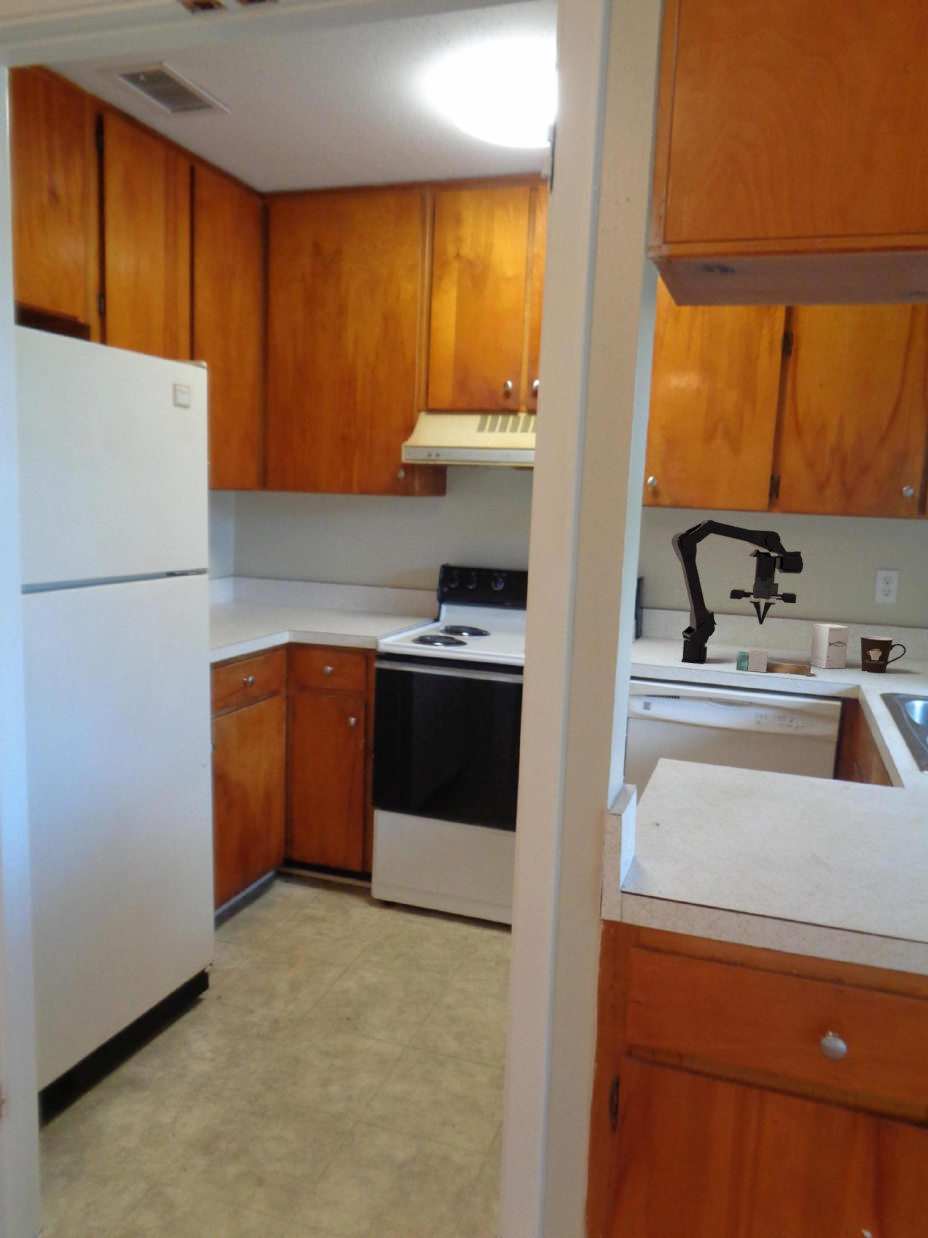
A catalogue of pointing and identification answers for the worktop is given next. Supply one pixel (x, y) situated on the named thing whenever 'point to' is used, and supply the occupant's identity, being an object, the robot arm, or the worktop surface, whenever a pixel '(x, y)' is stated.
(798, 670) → the track
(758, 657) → the block
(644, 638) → the worktop surface
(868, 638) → the coffee mug
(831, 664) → the supplement box
